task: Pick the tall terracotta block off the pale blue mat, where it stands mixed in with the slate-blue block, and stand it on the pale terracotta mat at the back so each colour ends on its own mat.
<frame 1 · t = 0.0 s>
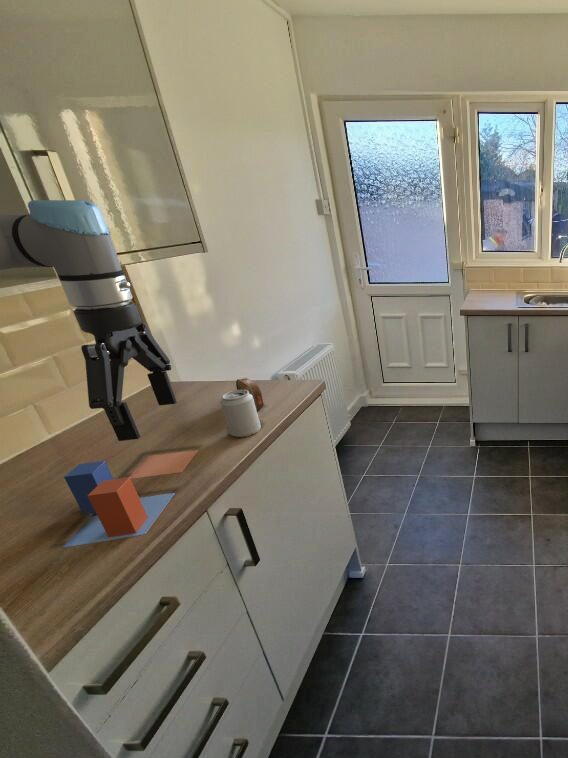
hand: (150, 420, 75), 23 cm above the countertop, tool pointing down, fingers open, 13 cm apart
terracotta block: (129, 527, 82), resting on blue mat
blue mat: (121, 519, 84), on the countertop
brown curved piece: (253, 406, 132), on the countertop
terracotta mat: (163, 465, 102), on the countertop
blue block: (104, 508, 87), resting on blue mat
can: (246, 432, 116), on the countertop
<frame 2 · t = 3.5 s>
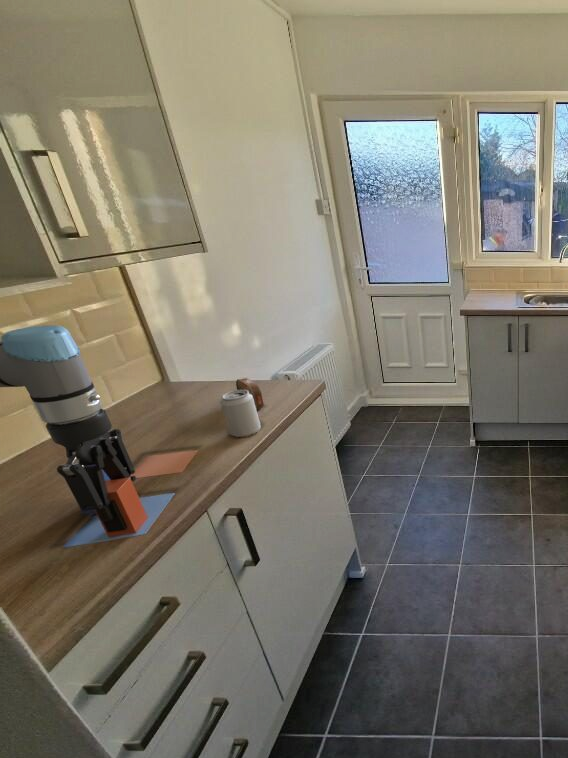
hand: (125, 520, 81), 2 cm above the countertop, tool pointing down, fingers closed on terracotta block, 4 cm apart
terracotta block: (128, 527, 82), resting on blue mat, touching gripper
everything else where it was.
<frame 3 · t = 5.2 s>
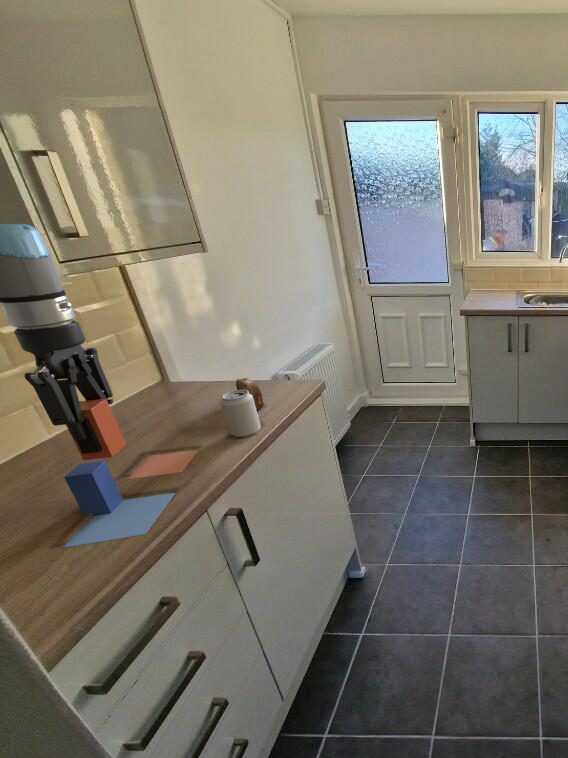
hand: (101, 444, 78), 18 cm above the countertop, tool pointing down, fingers closed on terracotta block, 4 cm apart
terracotta block: (105, 452, 79), point 16 cm above the countertop, touching gripper
everything else where it was.
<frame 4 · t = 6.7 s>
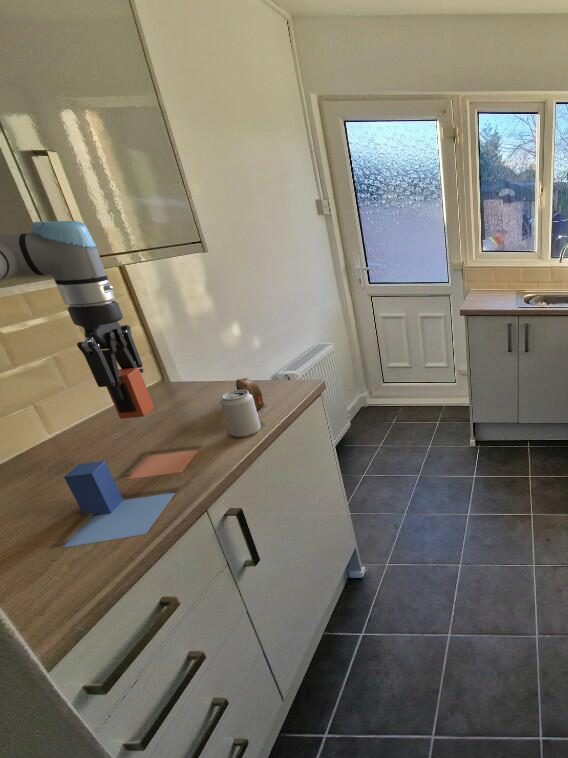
hand: (134, 406, 93), 17 cm above the countertop, tool pointing down, fingers closed on terracotta block, 4 cm apart
terracotta block: (137, 413, 94), point 16 cm above the countertop, touching gripper
everything else where it was.
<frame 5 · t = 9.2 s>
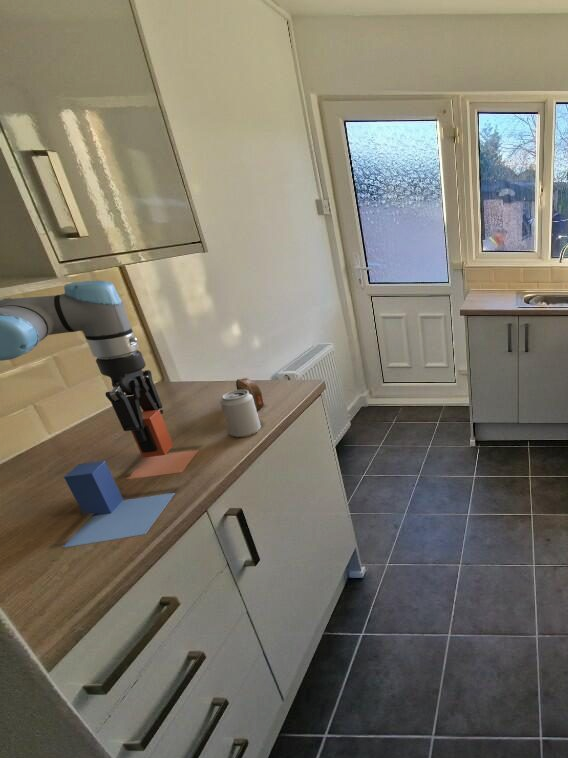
hand: (155, 445, 99), 6 cm above the countertop, tool pointing down, fingers closed on terracotta block, 4 cm apart
terracotta block: (158, 451, 100), point 4 cm above the countertop, touching gripper
everything else where it was.
when the fingers open (2 cm above the countertop, at t = 10.4 s): terracotta block stays where it is, resting on terracotta mat.
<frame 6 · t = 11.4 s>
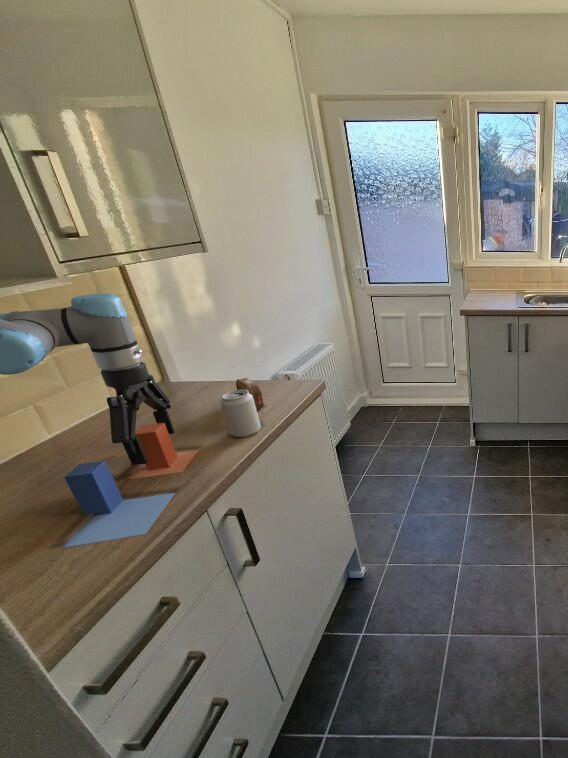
hand: (155, 447, 100), 5 cm above the countertop, tool pointing down, fingers open, 13 cm apart
terracotta block: (163, 463, 102), resting on terracotta mat
everything else where it was.
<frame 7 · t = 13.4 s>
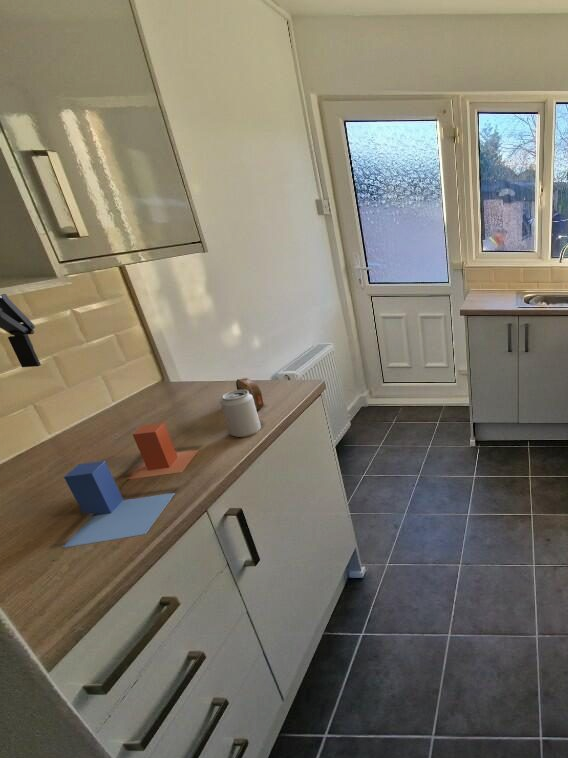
hand: (5, 378, 80), 28 cm above the countertop, tool pointing down, fingers open, 13 cm apart
nothing on the countertop moved.
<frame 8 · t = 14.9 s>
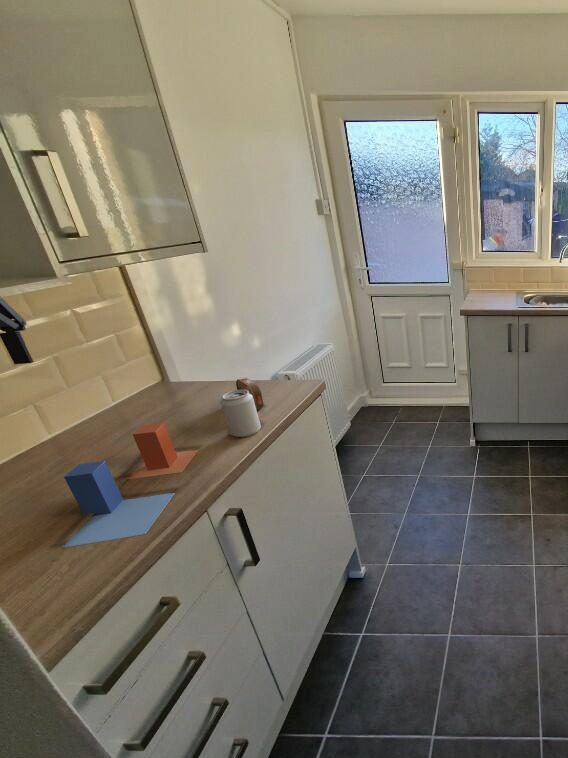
nothing on the countertop moved.
at the end: terracotta block inside the target area on the terracotta mat (0.1 cm from its centre), point 0.4 cm above the terracotta mat's base; terracotta block tilted 0°; blue block inside the target area on the blue mat (6.7 cm from its centre), point 0.4 cm above the blue mat's base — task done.
